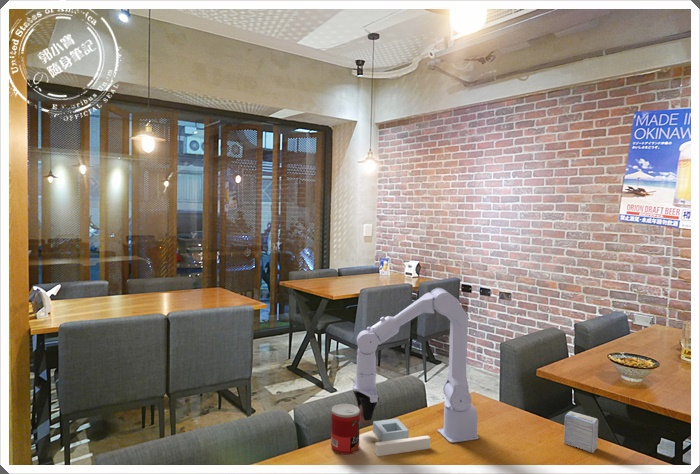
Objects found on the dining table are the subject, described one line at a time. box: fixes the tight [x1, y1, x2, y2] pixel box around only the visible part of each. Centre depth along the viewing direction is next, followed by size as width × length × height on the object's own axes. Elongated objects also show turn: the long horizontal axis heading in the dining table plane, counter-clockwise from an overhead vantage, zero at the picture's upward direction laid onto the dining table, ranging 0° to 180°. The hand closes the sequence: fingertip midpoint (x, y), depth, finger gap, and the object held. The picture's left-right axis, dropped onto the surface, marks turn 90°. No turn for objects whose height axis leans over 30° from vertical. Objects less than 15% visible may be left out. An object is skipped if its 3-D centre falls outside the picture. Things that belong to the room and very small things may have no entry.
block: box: [372, 418, 410, 442], centre depth 134 cm, size 8×8×3 cm
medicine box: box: [563, 410, 599, 454], centre depth 131 cm, size 8×4×9 cm, turn 47°
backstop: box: [374, 434, 431, 457], centre depth 126 cm, size 16×2×3 cm, turn 108°
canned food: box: [330, 403, 361, 455], centre depth 126 cm, size 8×8×11 cm
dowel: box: [360, 404, 372, 425], centre depth 135 cm, size 3×3×5 cm
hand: (365, 416), depth 135 cm, fingers closed on dowel, 3 cm apart
